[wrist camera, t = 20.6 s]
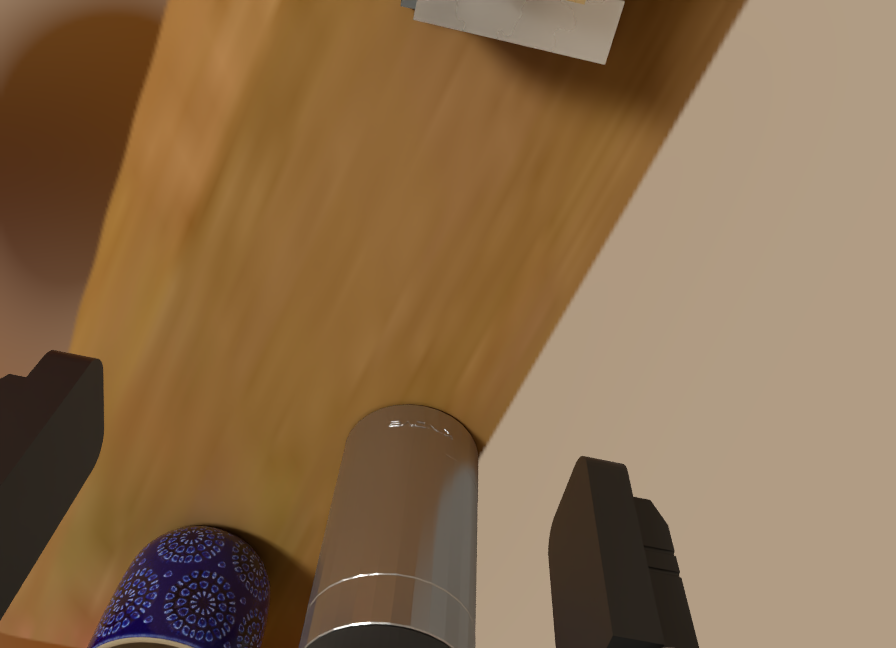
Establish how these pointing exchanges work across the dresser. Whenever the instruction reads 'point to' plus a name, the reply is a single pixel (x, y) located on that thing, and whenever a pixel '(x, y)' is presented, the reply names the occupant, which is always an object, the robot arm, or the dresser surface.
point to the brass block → (578, 1)
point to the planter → (189, 595)
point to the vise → (531, 22)
